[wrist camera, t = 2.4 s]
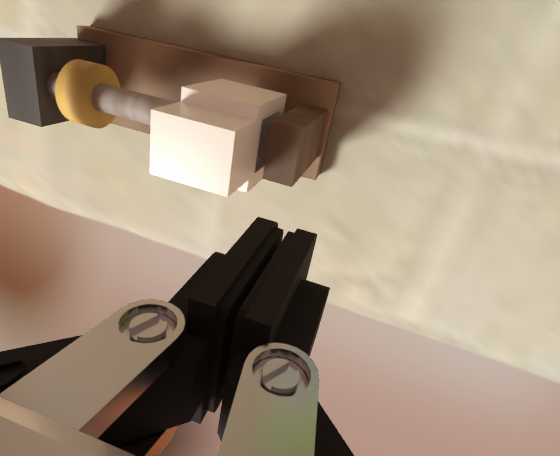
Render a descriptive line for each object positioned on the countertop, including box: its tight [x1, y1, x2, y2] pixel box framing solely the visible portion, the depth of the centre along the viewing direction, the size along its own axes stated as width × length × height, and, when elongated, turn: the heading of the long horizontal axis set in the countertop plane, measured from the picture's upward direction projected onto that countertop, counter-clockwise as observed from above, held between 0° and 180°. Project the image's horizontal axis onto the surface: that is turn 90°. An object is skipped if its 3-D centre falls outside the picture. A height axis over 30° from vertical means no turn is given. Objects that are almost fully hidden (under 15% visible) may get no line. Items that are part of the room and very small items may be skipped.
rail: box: [0, 26, 341, 187], centre depth 24 cm, size 18×6×7 cm, turn 79°
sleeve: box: [150, 79, 287, 197], centre depth 20 cm, size 4×4×7 cm
